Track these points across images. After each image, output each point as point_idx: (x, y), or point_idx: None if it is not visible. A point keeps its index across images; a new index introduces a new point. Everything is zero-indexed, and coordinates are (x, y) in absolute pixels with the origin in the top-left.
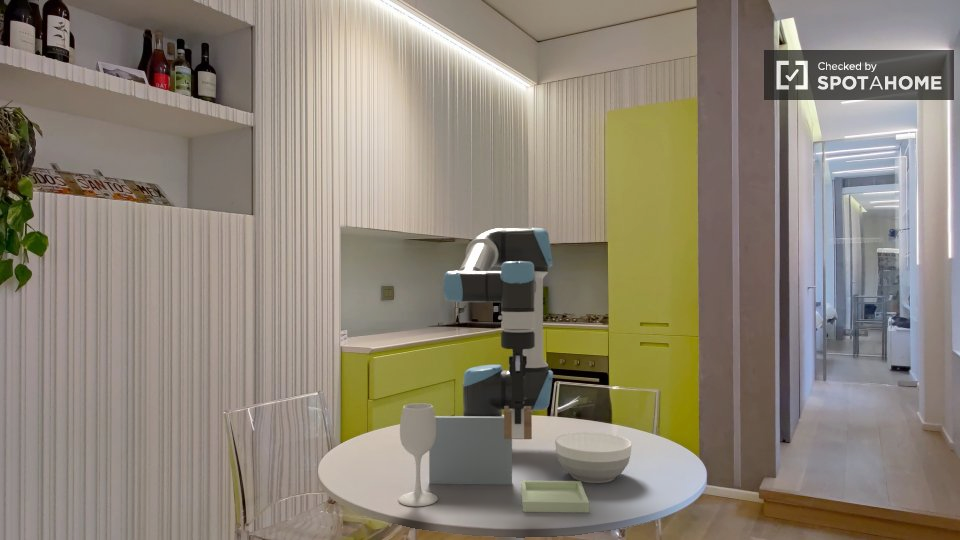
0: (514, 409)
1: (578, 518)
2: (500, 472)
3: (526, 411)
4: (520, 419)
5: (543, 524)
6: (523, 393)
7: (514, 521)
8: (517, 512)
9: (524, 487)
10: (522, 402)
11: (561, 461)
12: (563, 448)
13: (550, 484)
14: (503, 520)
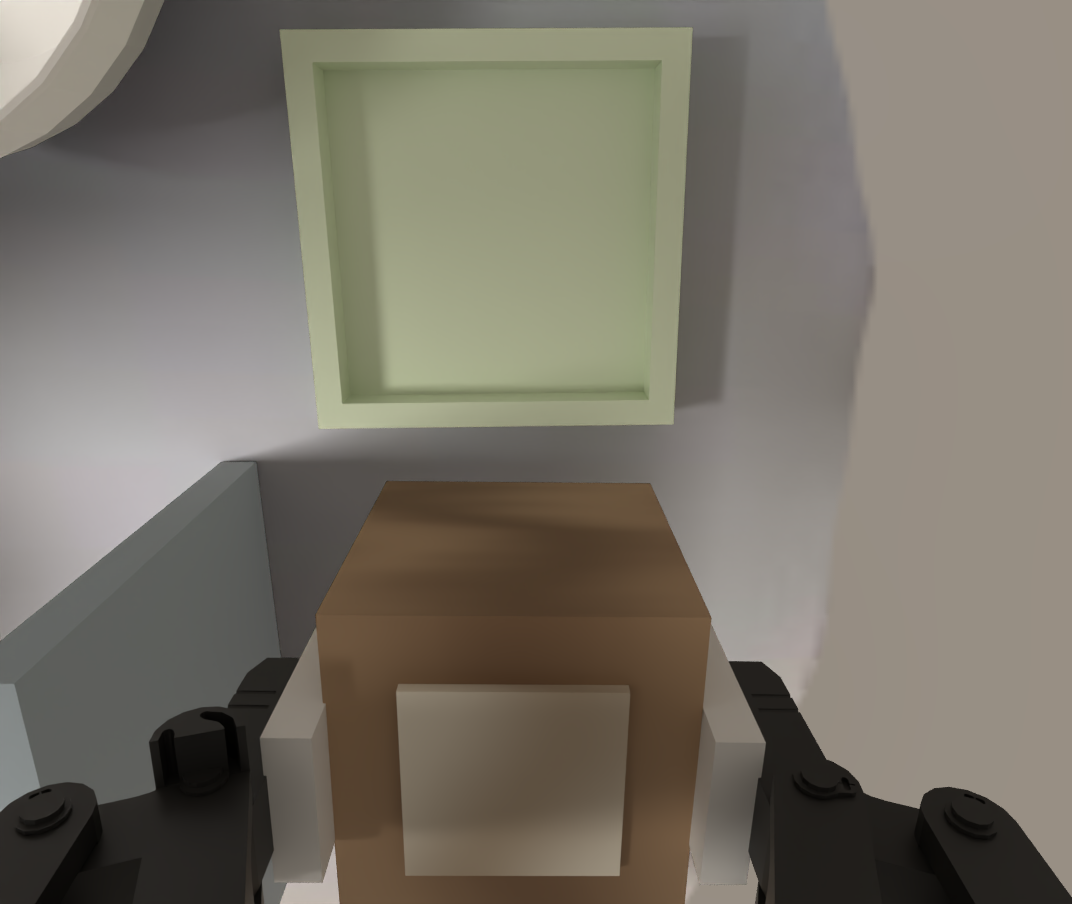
0: (744, 842)
1: (761, 118)
2: (239, 549)
3: (702, 680)
4: (788, 701)
5: (829, 315)
6: (52, 823)
7: (783, 451)
8: (670, 436)
9: (442, 410)
10: (1034, 866)
11: (34, 144)
12: (19, 118)
13: (330, 246)
14: (768, 500)
